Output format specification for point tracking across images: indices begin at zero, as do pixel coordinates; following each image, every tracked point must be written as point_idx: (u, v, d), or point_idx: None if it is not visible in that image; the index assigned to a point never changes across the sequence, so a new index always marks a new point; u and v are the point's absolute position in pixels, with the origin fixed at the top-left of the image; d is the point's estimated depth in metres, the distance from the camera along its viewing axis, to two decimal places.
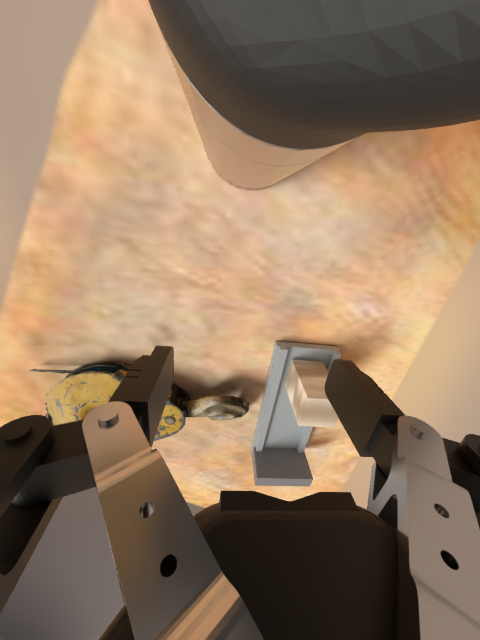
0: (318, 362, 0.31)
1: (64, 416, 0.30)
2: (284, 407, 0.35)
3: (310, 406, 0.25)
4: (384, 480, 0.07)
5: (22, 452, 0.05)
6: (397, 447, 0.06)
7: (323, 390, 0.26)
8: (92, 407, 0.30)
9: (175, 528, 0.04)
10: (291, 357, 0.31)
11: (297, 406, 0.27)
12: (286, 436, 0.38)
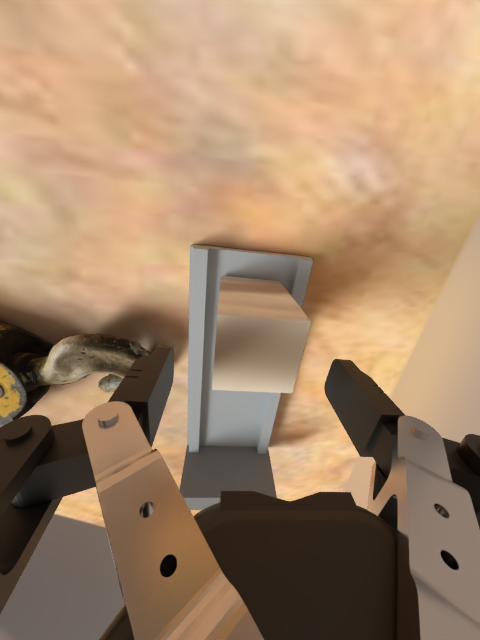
0: (270, 281, 0.16)
1: None
2: None
3: (229, 339, 0.11)
4: (384, 480, 0.07)
5: (22, 452, 0.05)
6: (397, 447, 0.06)
7: (263, 307, 0.11)
8: None
9: (175, 528, 0.04)
10: (222, 273, 0.17)
11: None
12: (237, 427, 0.24)
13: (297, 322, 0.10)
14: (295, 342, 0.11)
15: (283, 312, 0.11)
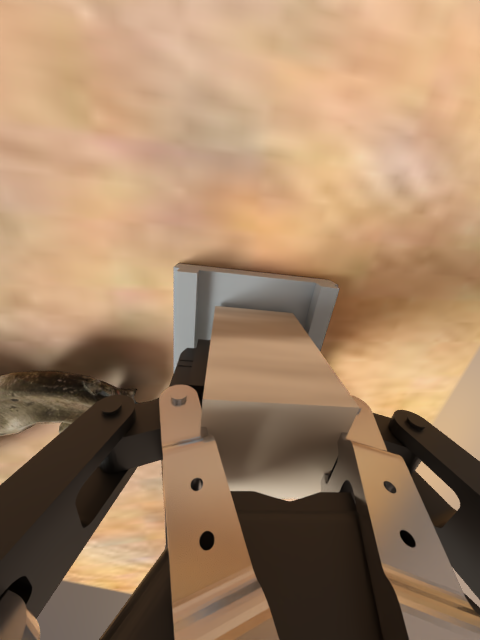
0: (281, 314, 0.12)
1: None
2: None
3: (222, 433, 0.06)
4: None
5: (120, 423, 0.06)
6: None
7: (277, 373, 0.07)
8: None
9: (217, 510, 0.04)
10: (216, 302, 0.12)
11: None
12: None
13: (336, 409, 0.06)
14: (330, 436, 0.07)
15: (309, 383, 0.07)
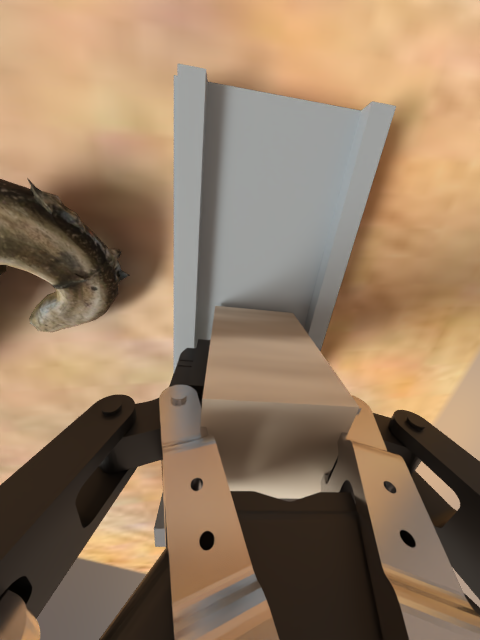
0: (281, 314, 0.12)
1: None
2: None
3: (221, 433, 0.06)
4: None
5: (120, 423, 0.06)
6: None
7: (277, 373, 0.07)
8: None
9: (217, 510, 0.04)
10: (230, 139, 0.10)
11: None
12: None
13: (336, 408, 0.06)
14: (330, 435, 0.07)
15: (309, 383, 0.07)
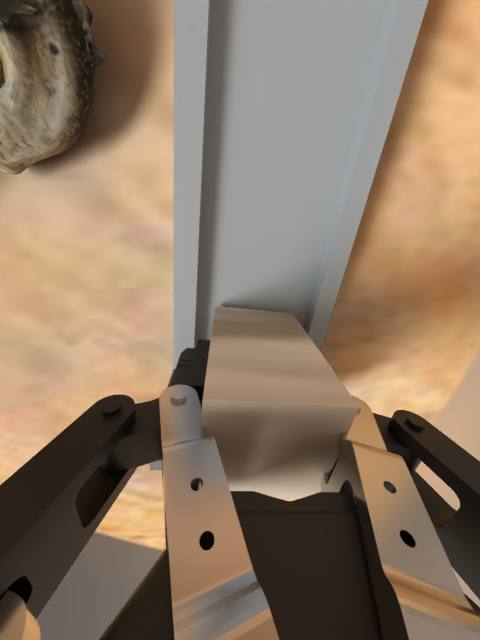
0: (281, 314, 0.12)
1: None
2: (246, 203, 0.11)
3: (222, 433, 0.06)
4: None
5: (120, 423, 0.06)
6: None
7: (277, 373, 0.07)
8: None
9: (217, 510, 0.04)
10: None
11: None
12: None
13: (336, 408, 0.06)
14: (330, 436, 0.07)
15: (309, 383, 0.07)
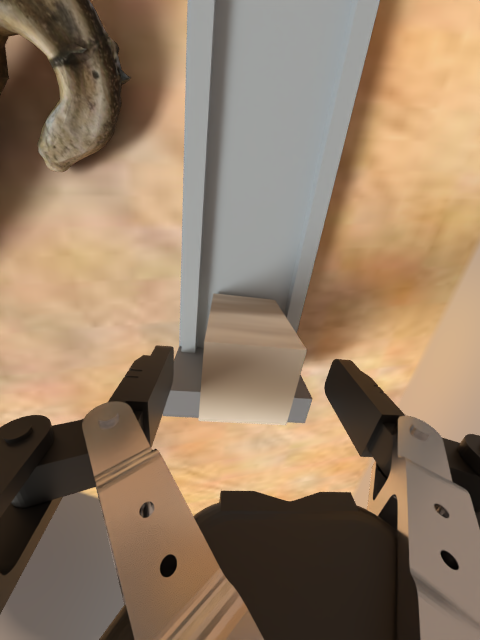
0: (265, 300, 0.16)
1: None
2: (237, 213, 0.14)
3: (217, 367, 0.10)
4: (384, 480, 0.07)
5: (22, 452, 0.05)
6: (397, 447, 0.06)
7: (255, 332, 0.11)
8: None
9: (175, 528, 0.04)
10: None
11: None
12: None
13: (291, 350, 0.10)
14: (289, 371, 0.10)
15: (276, 337, 0.10)
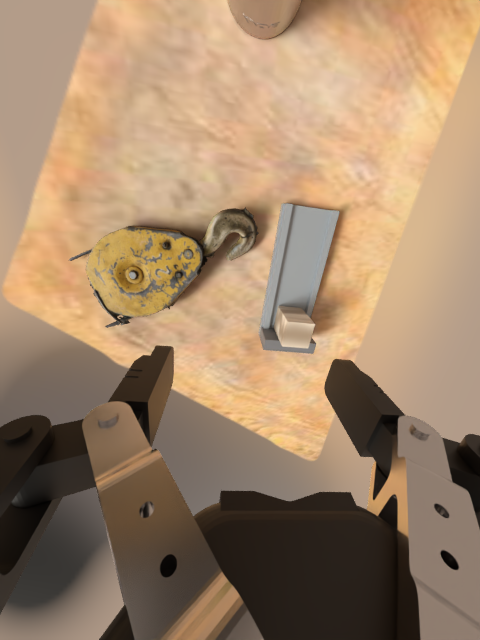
0: (298, 308, 0.41)
1: (105, 284, 0.35)
2: (289, 277, 0.39)
3: (289, 329, 0.35)
4: (384, 480, 0.07)
5: (22, 452, 0.05)
6: (397, 447, 0.06)
7: (299, 319, 0.36)
8: (123, 267, 0.34)
9: (175, 528, 0.04)
10: (295, 217, 0.35)
11: (281, 334, 0.37)
12: None
13: (310, 324, 0.34)
14: (310, 330, 0.35)
15: (306, 321, 0.35)
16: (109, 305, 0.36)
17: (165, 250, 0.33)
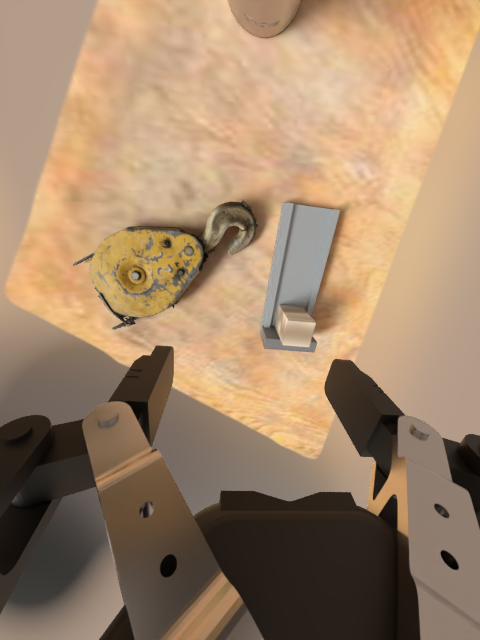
0: (298, 307, 0.41)
1: (109, 286, 0.35)
2: (290, 276, 0.39)
3: (290, 328, 0.35)
4: (384, 480, 0.07)
5: (22, 452, 0.05)
6: (397, 447, 0.06)
7: (300, 318, 0.36)
8: (125, 268, 0.34)
9: (175, 528, 0.04)
10: (296, 216, 0.35)
11: (282, 332, 0.37)
12: None
13: (311, 323, 0.35)
14: (311, 329, 0.35)
15: (306, 319, 0.35)
16: (114, 307, 0.36)
17: (166, 249, 0.33)
